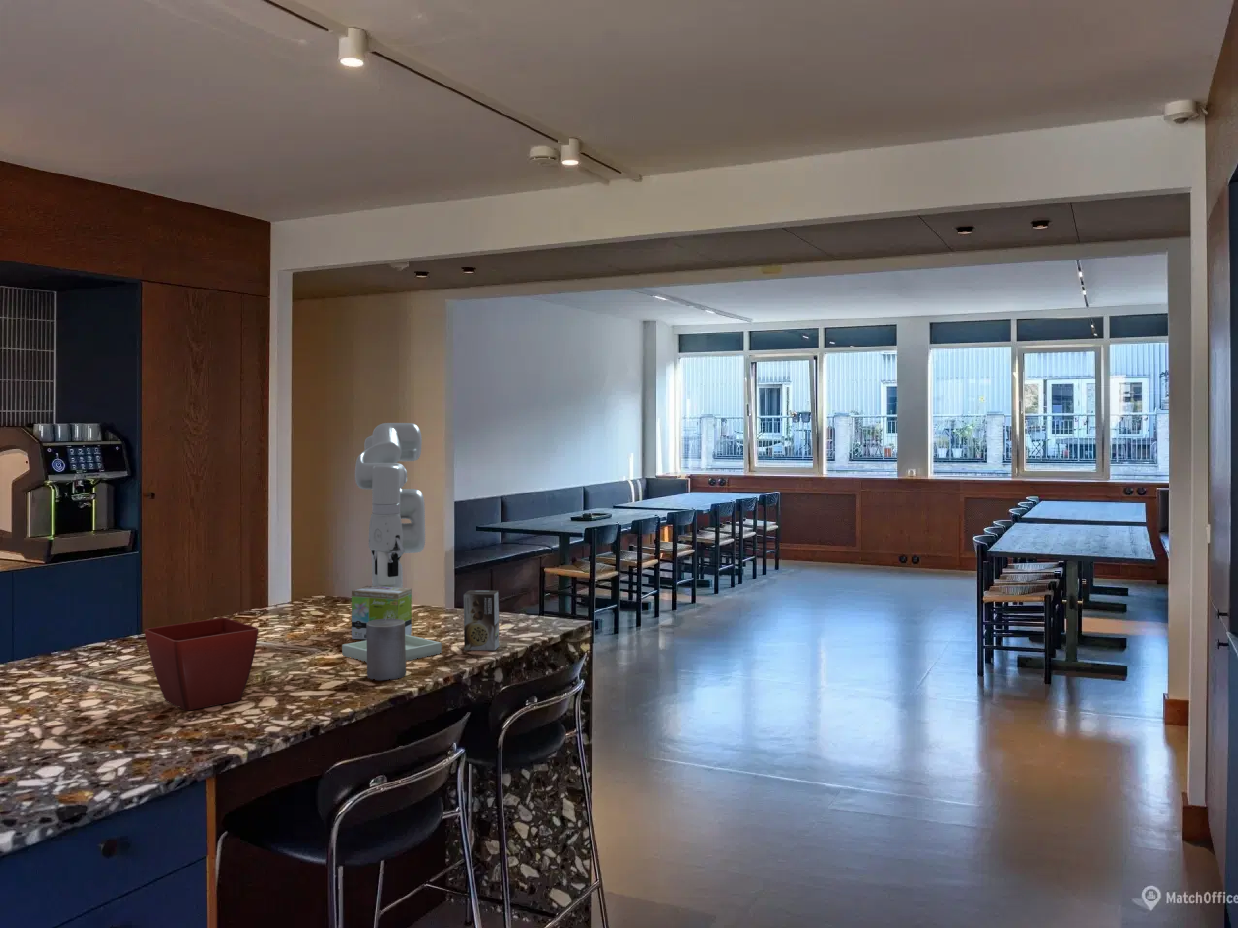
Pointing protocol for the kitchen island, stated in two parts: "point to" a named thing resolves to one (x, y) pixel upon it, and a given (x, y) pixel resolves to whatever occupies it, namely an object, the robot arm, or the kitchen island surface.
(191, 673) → the plant pot
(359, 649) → the tray
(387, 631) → the pillar candle
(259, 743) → the kitchen island surface
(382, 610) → the tea box
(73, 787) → the kitchen island surface
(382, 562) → the shaker
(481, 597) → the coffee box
